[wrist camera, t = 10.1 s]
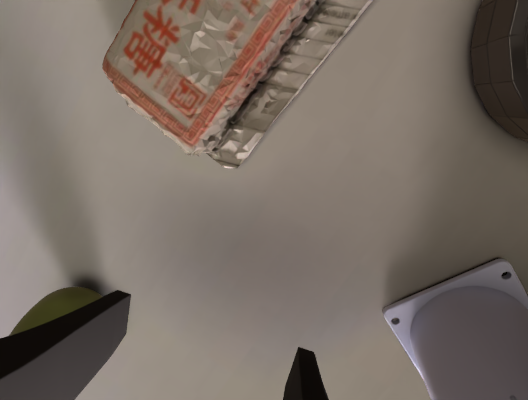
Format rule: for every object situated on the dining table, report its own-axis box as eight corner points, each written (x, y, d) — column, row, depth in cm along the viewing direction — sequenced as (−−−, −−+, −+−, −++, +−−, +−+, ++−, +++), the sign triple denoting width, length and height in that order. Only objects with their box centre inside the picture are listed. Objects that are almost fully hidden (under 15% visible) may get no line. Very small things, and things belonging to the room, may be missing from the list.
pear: (62, 323, 27) (-76, 443, 18) (60, 267, 25) (-93, 365, 16) (125, 340, 27) (18, 473, 17) (128, 283, 25) (11, 395, 15)
